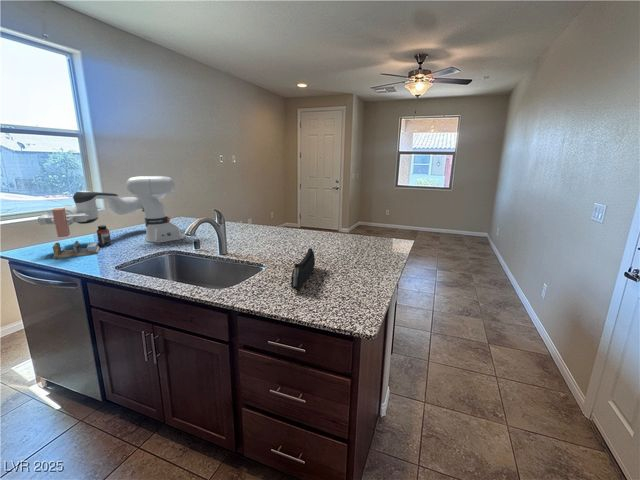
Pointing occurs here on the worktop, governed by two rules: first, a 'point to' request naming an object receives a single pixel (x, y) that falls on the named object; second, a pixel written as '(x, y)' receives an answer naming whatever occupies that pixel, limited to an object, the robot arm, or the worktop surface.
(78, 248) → the bookend
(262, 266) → the worktop surface
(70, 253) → the shelf
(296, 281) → the magazine
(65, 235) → the boxed book
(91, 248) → the flat bluegrey book
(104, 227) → the supplement bottle
